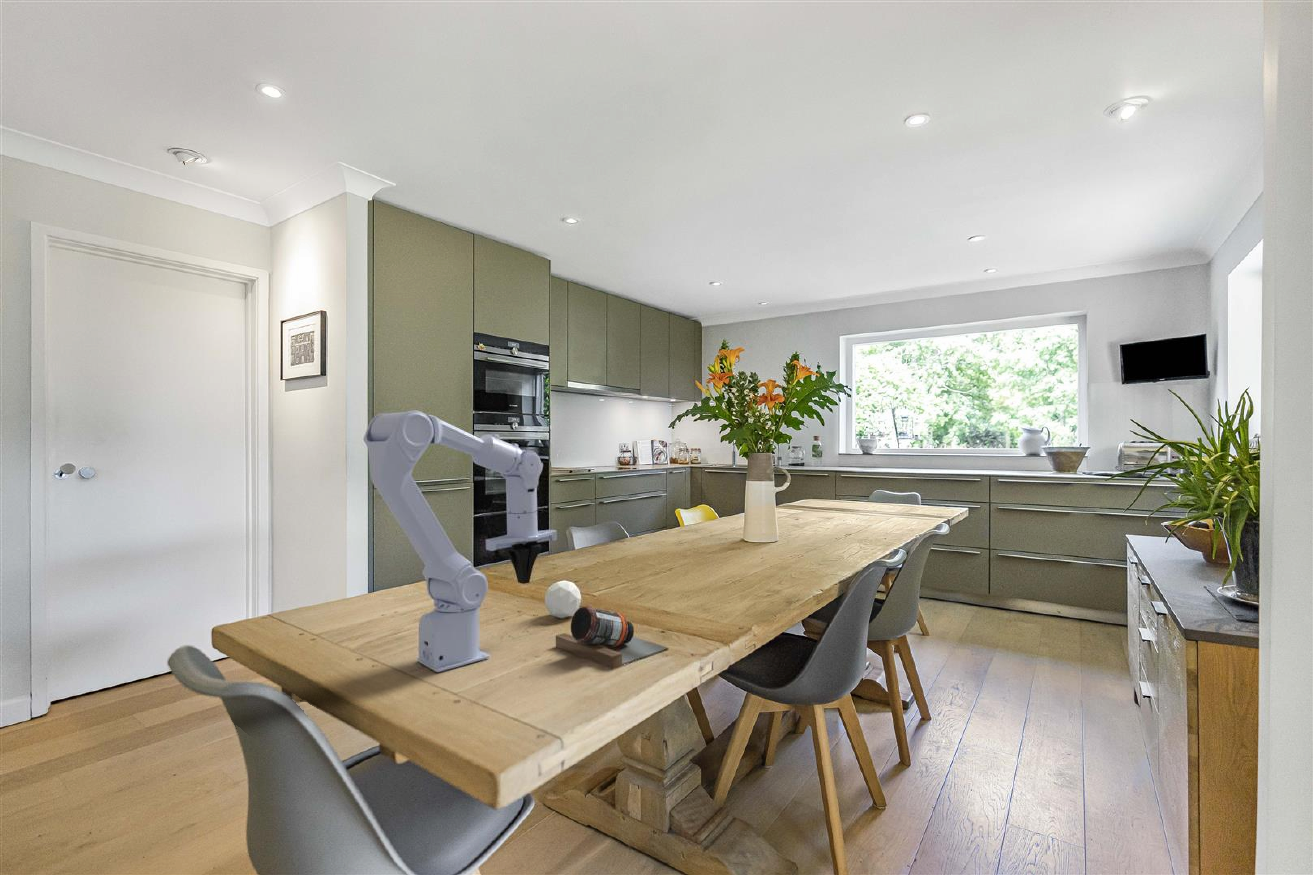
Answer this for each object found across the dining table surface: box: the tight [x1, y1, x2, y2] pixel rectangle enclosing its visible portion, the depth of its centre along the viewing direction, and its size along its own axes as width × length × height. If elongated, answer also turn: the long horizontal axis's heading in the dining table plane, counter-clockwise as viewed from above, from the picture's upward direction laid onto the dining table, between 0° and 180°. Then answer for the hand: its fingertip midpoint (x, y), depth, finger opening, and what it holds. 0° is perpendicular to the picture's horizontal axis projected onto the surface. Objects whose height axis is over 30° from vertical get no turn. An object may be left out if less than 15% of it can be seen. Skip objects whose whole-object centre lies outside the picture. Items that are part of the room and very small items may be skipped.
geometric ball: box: [544, 580, 582, 619], centre depth 128 cm, size 8×8×8 cm
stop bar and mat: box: [555, 632, 669, 670], centre depth 107 cm, size 13×16×2 cm
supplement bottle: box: [570, 606, 635, 647], centre depth 106 cm, size 6×6×11 cm
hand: (523, 582), depth 114 cm, fingers closed
